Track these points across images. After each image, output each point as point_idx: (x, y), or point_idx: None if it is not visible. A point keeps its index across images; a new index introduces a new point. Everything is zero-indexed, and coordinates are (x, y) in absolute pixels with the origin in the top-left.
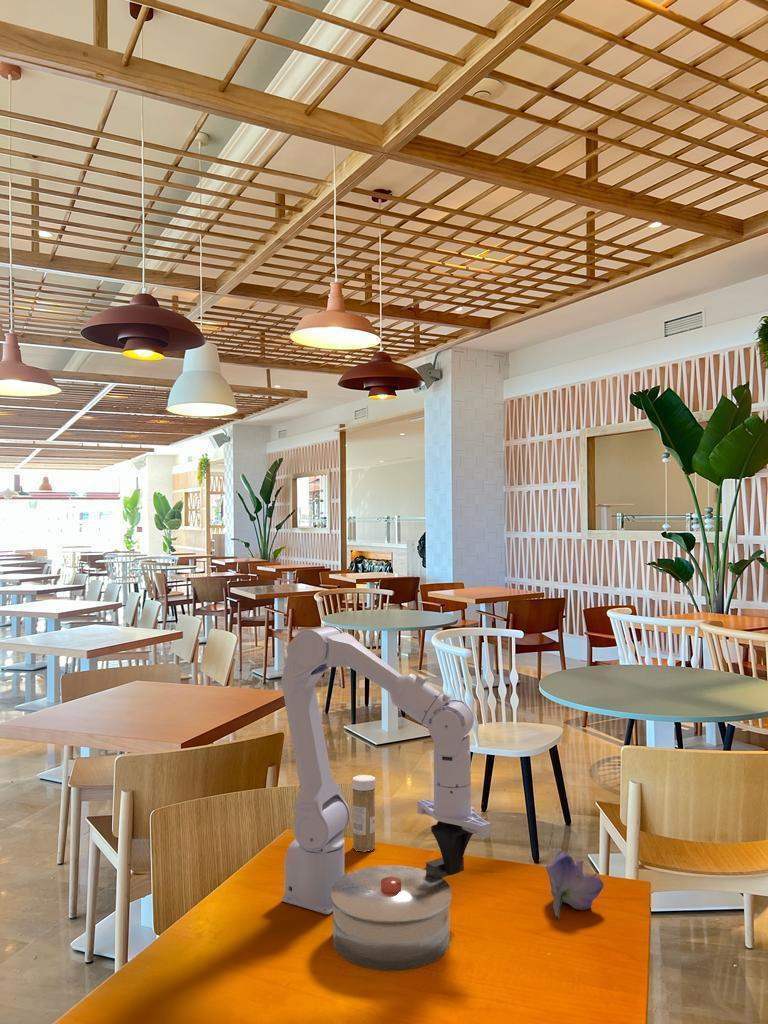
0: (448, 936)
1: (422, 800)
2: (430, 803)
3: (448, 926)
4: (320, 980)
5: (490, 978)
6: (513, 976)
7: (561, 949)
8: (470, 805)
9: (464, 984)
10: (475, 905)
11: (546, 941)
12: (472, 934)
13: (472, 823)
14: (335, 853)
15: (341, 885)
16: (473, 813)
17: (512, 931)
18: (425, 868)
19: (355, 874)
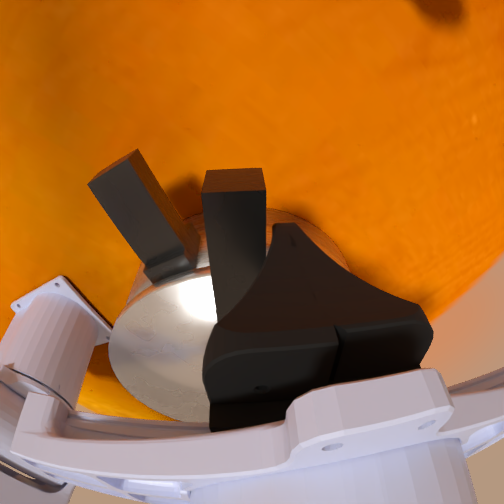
0: (341, 257)
1: (43, 471)
2: (106, 488)
3: (346, 268)
4: None
5: (439, 249)
6: (461, 220)
7: (481, 89)
8: (474, 492)
9: (417, 285)
10: (223, 63)
11: (453, 81)
12: (335, 174)
13: (495, 440)
14: (68, 396)
15: (176, 412)
16: (477, 429)
17: (387, 94)
18: (112, 214)
19: (139, 388)
